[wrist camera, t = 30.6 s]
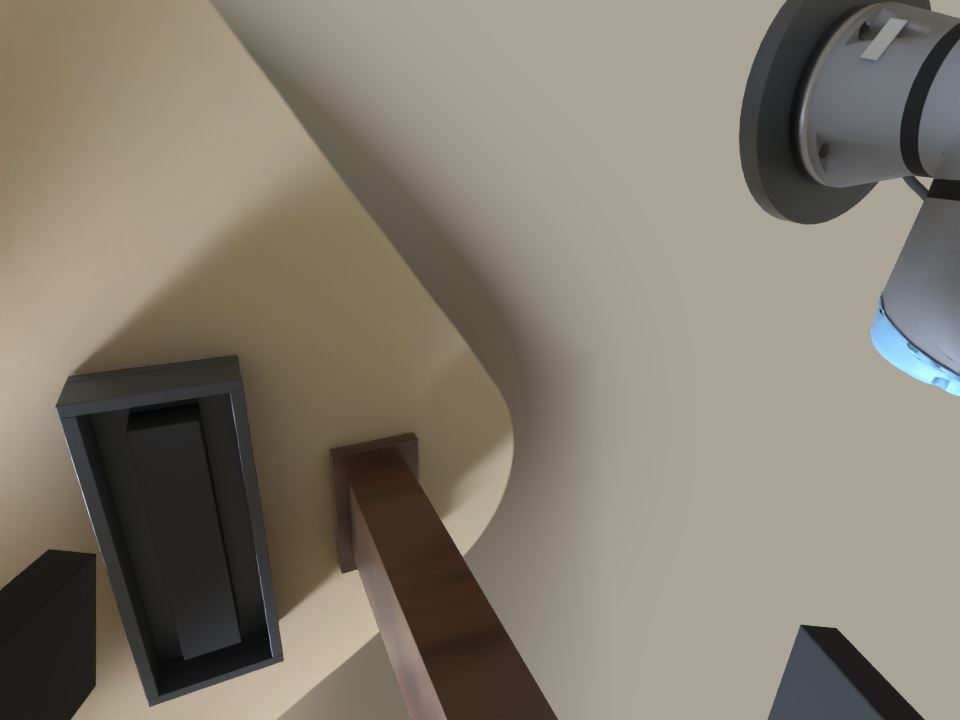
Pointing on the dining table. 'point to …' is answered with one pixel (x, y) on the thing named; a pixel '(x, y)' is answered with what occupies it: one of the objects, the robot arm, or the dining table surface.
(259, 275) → the dining table surface
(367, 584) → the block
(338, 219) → the dining table surface
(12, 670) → the robot arm
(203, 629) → the black box
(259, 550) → the dark gray rectangular tray
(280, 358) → the dining table surface
